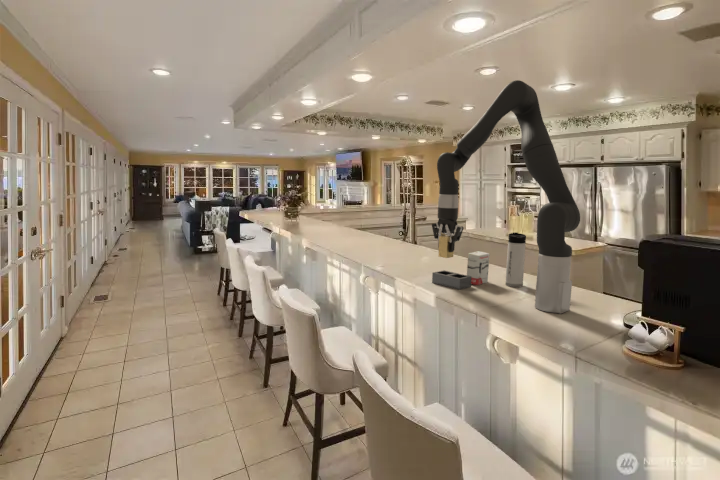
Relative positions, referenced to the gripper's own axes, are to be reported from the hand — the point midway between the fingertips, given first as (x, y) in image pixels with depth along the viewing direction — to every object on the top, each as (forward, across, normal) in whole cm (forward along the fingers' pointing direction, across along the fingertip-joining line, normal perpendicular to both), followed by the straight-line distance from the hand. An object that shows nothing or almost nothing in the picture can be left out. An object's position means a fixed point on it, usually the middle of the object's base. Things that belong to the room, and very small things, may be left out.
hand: (446, 250), depth 158 cm
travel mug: (+13, -18, -19) cm, 29 cm away
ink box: (+13, -7, -11) cm, 18 cm away
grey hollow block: (+13, -3, 0) cm, 13 cm away
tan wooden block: (+2, 0, 0) cm, 2 cm away
